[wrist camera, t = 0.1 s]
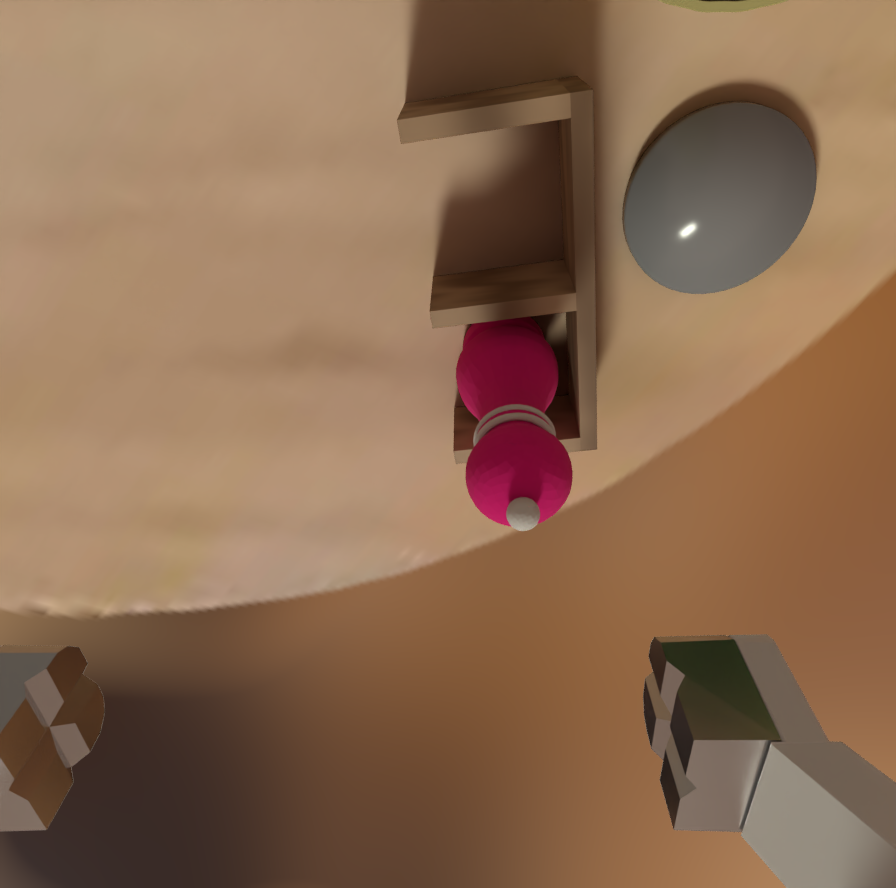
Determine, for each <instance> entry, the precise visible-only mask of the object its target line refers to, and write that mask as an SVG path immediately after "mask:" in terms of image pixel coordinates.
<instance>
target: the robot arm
mask: <svg viewBox="0 0 896 888" xmlns="http://www.w3.org/2000/svg"><path fill="white" fill-rule="evenodd" d="M649 659H650V663H651V666H652V669H653V672H652V673H651V674H650V675H649V676H647V677H646V678H645V684H644V693H643V702H644V717H645V723H646V729H647V734H648V737H649V741H650V745H651V749H652V750H653V751H654V752H655V753H657V755H659V756H660V757H661V758H662V759H663V765H662V771H661V776H660V782H661V786H662V790H663V793H664V797H665V800H666V804H667V808H668V811H669V815H670V818H671V822H672V825H673V829H674V830H694V831H730V832H742V834H741V836H742V837H743V838H744V839H745V840H746V842H747V843H748V844H749V845H750V846H751V847H752V849H753V850H754V851H755V852H756V853H757V854H758V855H759V857H760V858H761V859H762V860H763V861H764V862H765V863H766V865H767V866H768V867H769V868H770V869H771V870H772V871H773V873H774V874H775V875H776V876H777V877H778V878H779V879H780V881H781V882H782V883H783V884H784V885H785V886H786V887H787V888H896V783H895V782H894V781H893V780H892V779H890V778H889V777H888V776H886V775H885V774H884V773H882V772H881V771H880V770H878V769H877V768H876V767H874V766H873V765H872V764H870V763H869V762H868V761H866V760H865V759H864V758H862V757H861V756H859V755H858V754H857V753H856V752H854V751H853V750H852V749H850V748H849V747H848V746H846V745H845V744H843V742H829V740H828V738H827V736H826V735H825V733H824V731H823V729H822V727H821V725H820V723H819V722H818V720H817V718H816V716H815V714H814V713H813V711H812V709H811V707H810V705H809V704H808V702H807V700H806V698H805V696H804V694H803V693H802V691H801V689H800V687H799V685H798V683H797V681H796V680H795V678H794V676H793V674H792V672H791V670H790V669H789V667H788V665H787V663H786V661H785V660H784V658H783V656H782V654H781V652H780V650H779V649H778V647H777V645H776V643H775V641H774V640H773V639H772V638H770V637H769V636H768V635H729V636H726V635H711V636H710V635H709V636H708V635H707V636H670V637H669V636H668V637H654V638H653V640H652V642H651V645H650V651H649ZM87 664H88V662H87V661H86V659H85V657H84V655H83V654H82V652H81V650H80V648H79V647H72V646H30V645H28V646H27V645H26V646H25V645H3V646H0V831H23V830H25V831H26V830H47V829H48V827H49V825H50V823H51V821H52V820H53V818H54V816H55V814H56V813H57V811H58V809H59V807H60V805H61V803H62V802H63V800H64V798H65V796H66V795H67V793H68V791H69V789H70V787H71V786H72V784H73V776H72V770H71V767H72V766H73V765H74V764H76V763H77V762H78V761H79V760H81V759H82V758H83V757H84V756H86V755H87V754H88V753H90V751H91V750H92V748H93V746H94V744H95V742H96V740H97V737H98V736H99V734H100V731H101V727H102V723H103V718H104V713H105V707H104V698H103V694H102V692H101V690H100V688H99V686H98V684H97V683H95V682H94V681H92V680H91V679H89V678H88V677H86V676H85V675H83V672H84V670H85V668H86V666H87Z"/></svg>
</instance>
